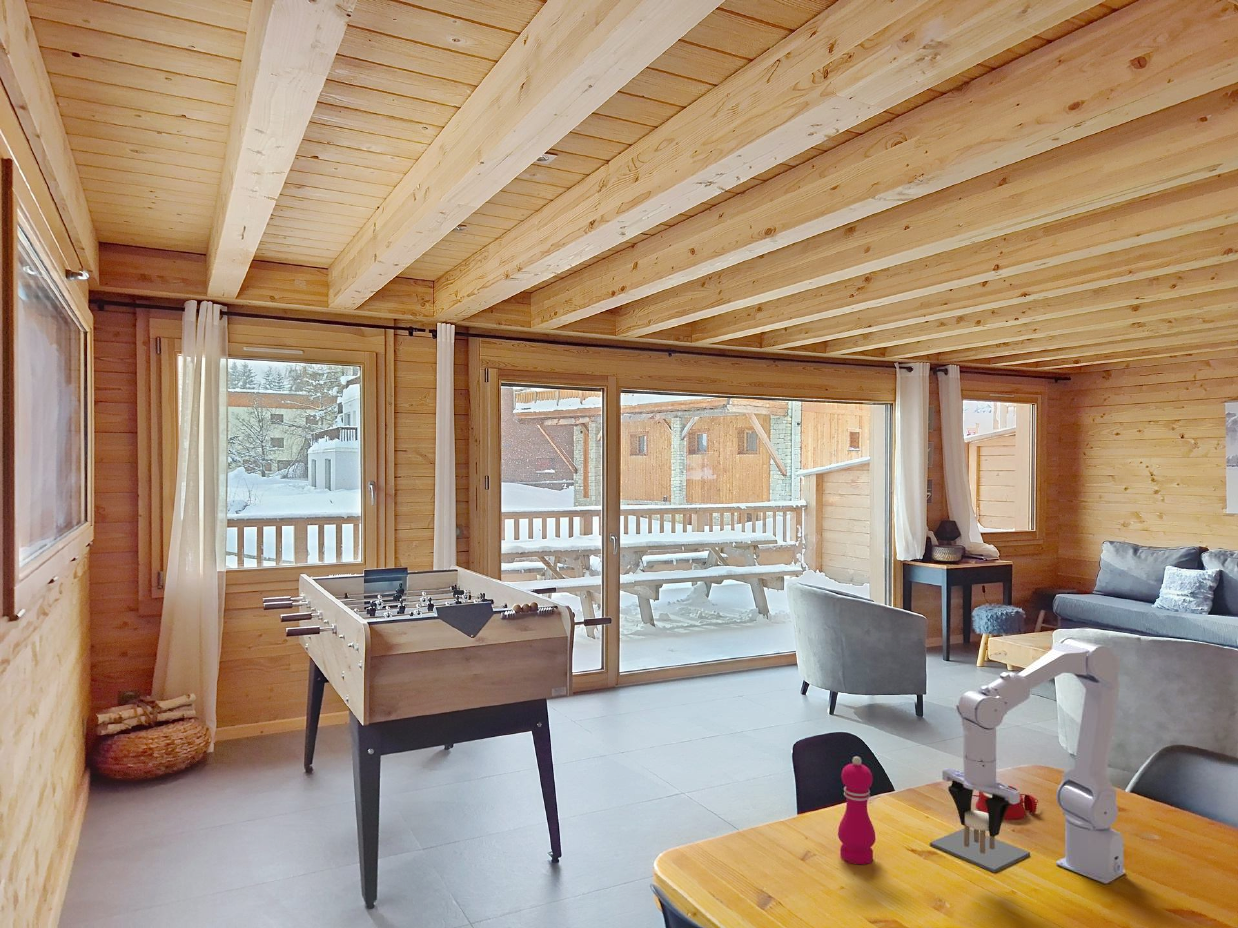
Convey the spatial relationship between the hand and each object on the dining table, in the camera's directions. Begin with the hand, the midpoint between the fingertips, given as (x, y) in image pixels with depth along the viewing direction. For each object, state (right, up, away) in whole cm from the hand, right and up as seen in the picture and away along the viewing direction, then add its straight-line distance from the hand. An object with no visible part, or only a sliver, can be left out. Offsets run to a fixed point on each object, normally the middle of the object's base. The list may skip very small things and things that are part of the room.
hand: (979, 829), depth 154 cm
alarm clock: (+21, -11, +33) cm, 40 cm away
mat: (+5, -10, +12) cm, 16 cm away
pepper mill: (-21, -10, +9) cm, 24 cm away
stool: (0, -3, 0) cm, 3 cm away
